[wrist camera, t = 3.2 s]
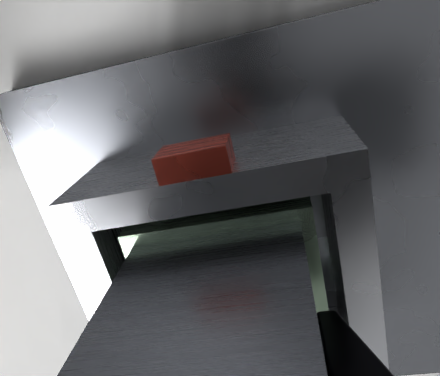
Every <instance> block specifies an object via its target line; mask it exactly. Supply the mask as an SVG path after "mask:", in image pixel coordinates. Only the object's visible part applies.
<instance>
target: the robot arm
mask: <svg viewBox="0 0 440 376" xmlns="http://www.w3.org/2000/svg"><path fill="white" fill-rule="evenodd" d="M317 318H318V324H319V330H320V335H321V341H322V347H323V353H324V358H325V364H326V370H327V375H328V376H394V375H393V374H392V373H391V372H390V370H389V369H388V368H387V367H386V366H385V365H384V364H383V363H382V362H381V360H380V359H379V358H378V357H377V356H376V355H375V354H374V353H373V352H372V350H371V349H370V348H369V347H368V346H367V345H366V344H365V343H364V341H363V340H362V339H361V338H360V337H359V336H358V335H357V334H356V333H355V331H354V330H353V329H352V328H351V327H350V326H349V325H348V324H347V322H346V321H345V320H344V319H343V318H342V317H341V316H340V315H339V314H338V313H337V312H336V311H335V310H329V311H320V312H317Z"/></svg>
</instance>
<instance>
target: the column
mask: <svg viewBox="0 0 440 376" xmlns="http://www.w3.org/2000/svg"><path fill="white" fill-rule="evenodd" d="M118 240H119V242H120V245H121V248H122V251H123V253H124V256H125V261H124V263H123V264H122V266H121V268H120V270H119V271H118V273H117V275H116V276H115V278H114V280H113V281H112V283H111V285H110V287H109V288H108V290H107V292H106V293H105V295H104V297H103V299H102V300H101V302H100V304H99V305H98V307H97V309H96V310H95V312H94V314H93V316H92V317H91V319H90V321H89V322H88V324H87V326H86V328H85V329H84V331H83V333H82V334H81V336H80V338H79V340H78V341H77V343H76V345H75V346H74V348H73V350H72V351H71V353H70V355H69V357H68V358H67V360H66V362H65V363H64V365H63V367H62V369H61V370H60V372H59V374H58V375H57V376H328V375H327V370H326V364H325V358H324V353H323V347H322V341H321V335H320V330H319V324H318V318H317V312H320V311H329V309H328V303H327V296H326V290H325V284H324V277H323V271H322V265H321V259H320V252H319V246H318V240H317V233H316V227H315V221H314V214H313V208H312V204H311V200H310V196H309V197H302V198H296V199H290V200H284V201H278V202H272V203H265V204H259V205H253V206H247V207H241V208H235V209H229V210H222V211H216V212H210V213H204V214H198V215H192V216H186V217H179V218H173V219H167V220H161V221H155V222H149V223H142V224H136V225H130V226H125V227H124V229H123V230H122V232H121V233H120V235H119V236H118Z"/></svg>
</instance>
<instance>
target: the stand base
mask: <svg viewBox="0 0 440 376" xmlns="http://www.w3.org/2000/svg"><path fill="white" fill-rule="evenodd" d="M0 122H1V125H2V127H3V129H4V131H5V134H6V136H7V138H8V140H9V143H10V145H11V147H12V149H13V152H14V154H15V156H16V158H17V161H18V163H19V165H20V168H21V170H22V172H23V174H24V177H25V179H26V181H27V183H28V186H29V188H30V190H31V192H32V195H33V197H34V199H35V201H36V204H37V206H38V208H39V210H40V213H41V215H42V217H43V219H44V222H45V224H46V226H47V228H48V231H49V233H50V235H51V237H52V240H53V242H54V244H55V246H56V249H57V251H58V253H59V255H60V258H61V260H62V262H63V264H64V267H65V269H66V271H67V273H68V276H69V278H70V280H71V282H72V285H73V287H74V289H75V291H76V294H77V296H78V298H79V300H80V303H81V305H82V307H83V309H84V312H85V314H86V316H87V319H88V321H90V319H91V317H92V316H93V314H94V312H95V310H96V309H97V307H98V305H99V304H100V302H101V300H102V299H103V297H104V295H105V293H106V292H107V290H108V288H109V287H110V285H111V283H112V281H113V280H114V278H115V276H116V275H117V273H118V271H119V270H120V268H121V266H122V264H123V263H124V261H125V256H124V253H123V251H122V248H121V245H120V242H119V240H118V236H119V235H120V233H121V232H122V230H123V229H124V227H125V226H130V225H136V224H142V223H149V222H155V221H161V220H167V219H173V218H179V217H186V216H192V215H198V214H204V213H210V212H216V211H222V210H229V209H235V208H241V207H247V206H253V205H259V204H265V203H272V202H278V201H284V200H290V199H296V198H302V197H309V196H310V200H311V204H312V208H313V214H314V221H315V227H316V233H317V240H318V246H319V252H320V259H321V265H322V271H323V277H324V284H325V290H326V296H327V303H328V309H329V310H335V311H336V312H337V313H338V314H339V315H340V316H341V317H342V318H343V319H344V320H345V321H346V322H347V324H348V325H349V326H350V327H351V328H352V329H353V330H354V331H355V333H356V334H357V335H358V336H359V337H360V338H361V339H362V340H363V341H364V343H365V344H366V345H367V346H368V347H369V348H370V349H371V350H372V352H373V353H374V354H375V355H376V356H377V357H378V358H379V359H380V360H381V362H382V363H383V364H384V365H385V366H386V367H387V368H388V369H389V370H390V372H391V373H392V374H393V375H394V376H401V375H414V374H428V373H440V0H379V1H375V2H371V3H367V4H362V5H358V6H354V7H350V8H346V9H342V10H338V11H334V12H330V13H326V14H322V15H318V16H314V17H310V18H306V19H301V20H297V21H293V22H289V23H285V24H281V25H277V26H273V27H269V28H265V29H261V30H257V31H253V32H249V33H244V34H240V35H236V36H232V37H228V38H224V39H220V40H216V41H212V42H208V43H204V44H200V45H196V46H192V47H188V48H183V49H179V50H175V51H171V52H167V53H163V54H159V55H155V56H151V57H147V58H143V59H139V60H135V61H131V62H127V63H122V64H118V65H114V66H110V67H106V68H102V69H98V70H94V71H90V72H86V73H82V74H78V75H74V76H70V77H66V78H61V79H57V80H53V81H49V82H45V83H41V84H37V85H33V86H29V87H25V88H21V89H17V90H13V91H9V92H5V93H2V94H0Z"/></svg>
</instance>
